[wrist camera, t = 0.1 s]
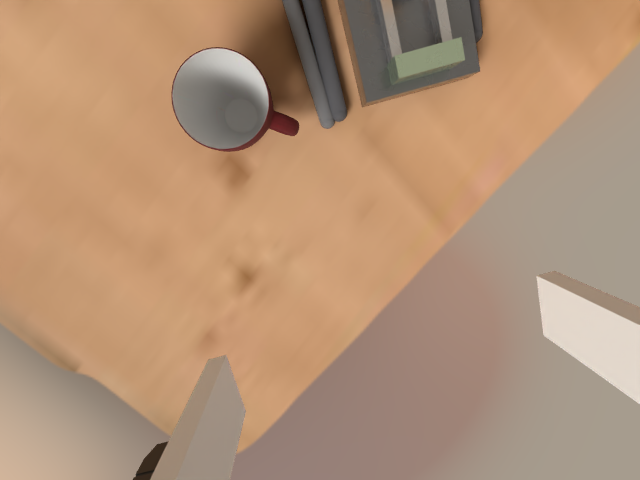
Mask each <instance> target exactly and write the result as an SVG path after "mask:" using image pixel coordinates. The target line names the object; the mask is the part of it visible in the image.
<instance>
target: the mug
mask: <svg viewBox="0 0 640 480" xmlns="http://www.w3.org/2000/svg"><path fill="white" fill-rule="evenodd" d="M172 105H173V109H174V113H175V116H176V118H177V120H178V122H179V124H180V125H181V127H182V128H183V130H184V131H185V132H186V133H187V134H188V135H189V136H190V137H191V138H192V139H193V140H195V141H196V142H198V143H200V144H201V145H203V146H206V147H208V148H211V149H215V150H219V151H229V152H230V151H239V150H243V149H245V148H248V147H250V146H252V145H253V144H255V143H256V142H257V141H258V140H259V139H260V138H261V137H262V136H263V135H264V134H265V133H266V131H267V130H268V129H272V130H275V131H277V132H280V133H282V134H285V135H289V136H295V135H296V134H297V133H298V130H299V123H298V121H297V120H295V119H293V118H291V117H289V116H287V115H284V114H282V113H279V112H276V111H274V109H273V102H272V97H271V93H270V89H269V87H268V84H267V82H266V80H265V78H264V77H263V75H262V73H261V72H260V70H259V69H258V68H257V66H256V65H255V64H254V63H253V62H252V61H251V60H250V59H248V58H247V57H246V56H244V55H242V54H241V53H239V52H237V51H234V50H231V49H227V48H220V47H215V48H207V49H204V50H201V51H198V52H196V53H195V54H193V55H192V56H190V57H189V58H188V59H187V60H186V61H185V62H184V63H183V64H182V65H181V66H180V68H179V70H178V71H177V73H176V76H175V78H174V81H173V86H172Z"/></svg>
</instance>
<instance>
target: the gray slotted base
mask: <svg viewBox="0 0 640 480" xmlns="http://www.w3.org/2000/svg"><path fill="white" fill-rule="evenodd" d="M338 4H339V8H340V13H341V17H342V21H343V26H344V30H345V34H346V39H347V43H348V47H349V52H350V56H351V61H352V65H353V69H354V74H355V78H356V82H357V87H358V91H359V95H360V100H361V104H362V107H365V106H369V105H372V104H376V103H379V102H383V101H387V100H390V99H394V98H397V97H401V96H405V95H408V94H412V93H415V92H419V91H422V90H426V89H430V88H433V87H437V86H440V85H444V84H448V83H451V82H455V81H458V80H462V79H465V78H468V77H470V76H472V75H474V74H476V73H478V72H480V67H479V60H478V54H477V47H476V41H475V35H474V28H473V22H472V15H471V9H470V2H469V0H338Z"/></svg>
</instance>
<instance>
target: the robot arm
mask: <svg viewBox="0 0 640 480" xmlns="http://www.w3.org/2000/svg"><path fill="white" fill-rule="evenodd" d="M537 284H538V292H539V301H540V308H541V316H542V325H543V334H544V336H545V337H547V338H548V339H550V340H551V341H552V342H554V343H555V344H557V345H558V346H559V347H561V348H562V349H564V350H565V351H566V352H568V353H569V354H571V355H572V356H573V357H575V358H576V359H578V360H579V361H580V362H582V363H583V364H585V365H586V366H587V367H589V368H590V369H591V370H593V371H594V372H596V373H597V374H599V375H600V376H601V377H603V378H604V379H605V380H607V381H608V382H610V383H611V384H612V385H614V386H615V387H617V388H618V389H619V390H621V391H622V392H624V393H625V394H626V395H628V396H629V397H631V398H632V399H634V400H635V401H636V402H638V403H639V404H640V307H638V306H636V305H633V304H631V303H629V302H626V301H624V300H622V299H619V298H617V297H615V296H612V295H610V294H608V293H605V292H602V291H601V290H598V289H596V288H593V287H591V286H589V285H587V284H584V283H582V282H579V281H577V280H575V279H572V278H570V277H568V276H565V275H563V274H561V273H558V272H556V271H553V272H548V273H545V274H541V275H537ZM245 413H246V410H245V407H244V404H243V402H242V399H241V396H240V393H239V390H238V387H237V384H236V381H235V379H234V376H233V373H232V370H231V367H230V364H229V361H228V359H227V356H226V355H224V356H220V357H217V358H213V359H209V360H208V361H207V363H206V365H205V368H204V370H203V372H202V374H201V376H200V378H199V380H198V382H197V384H196V386H195V388H194V390H193V392H192V394H191V396H190V398H189V400H188V403H187V405H186V407H185V409H184V411H183V413H182V415H181V417H180V419H179V421H178V423H177V425H176V427H175V429H174V431H173V433H172V435H171V437H170V440H169V442H165V443H161V444H157V445H156V446H155V447H154V448H153V450H152V451H151V452H150V453H149V454H148V455H147V456H146V457H145V458H144V460H143V462H142V464H141V466H140V467H139V469H138V471H137V473H136V477H134V478H133V480H230V477H231V472H232V468H233V464H234V460H235V455H236V451H237V447H238V443H239V438H240V434H241V430H242V425H243V421H244V417H245Z"/></svg>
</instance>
